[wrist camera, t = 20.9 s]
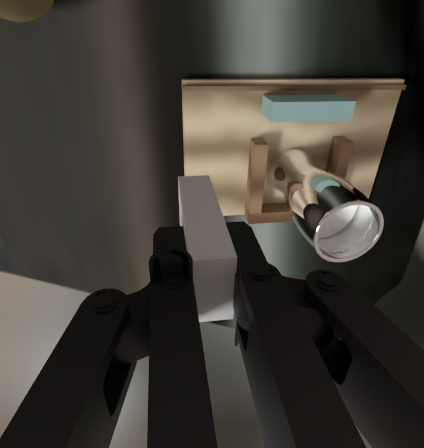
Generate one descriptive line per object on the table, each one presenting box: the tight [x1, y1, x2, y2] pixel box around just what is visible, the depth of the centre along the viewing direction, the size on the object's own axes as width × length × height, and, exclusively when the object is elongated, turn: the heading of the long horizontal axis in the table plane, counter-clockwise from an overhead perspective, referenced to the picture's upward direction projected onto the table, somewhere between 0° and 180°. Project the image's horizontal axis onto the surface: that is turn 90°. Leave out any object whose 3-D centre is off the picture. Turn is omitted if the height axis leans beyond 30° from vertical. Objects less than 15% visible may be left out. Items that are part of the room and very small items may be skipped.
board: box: [182, 78, 406, 224], centre depth 40 cm, size 17×26×4 cm, turn 89°
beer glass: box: [269, 149, 384, 262], centre depth 36 cm, size 7×7×15 cm
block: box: [261, 94, 356, 122], centre depth 36 cm, size 2×9×4 cm, turn 89°
